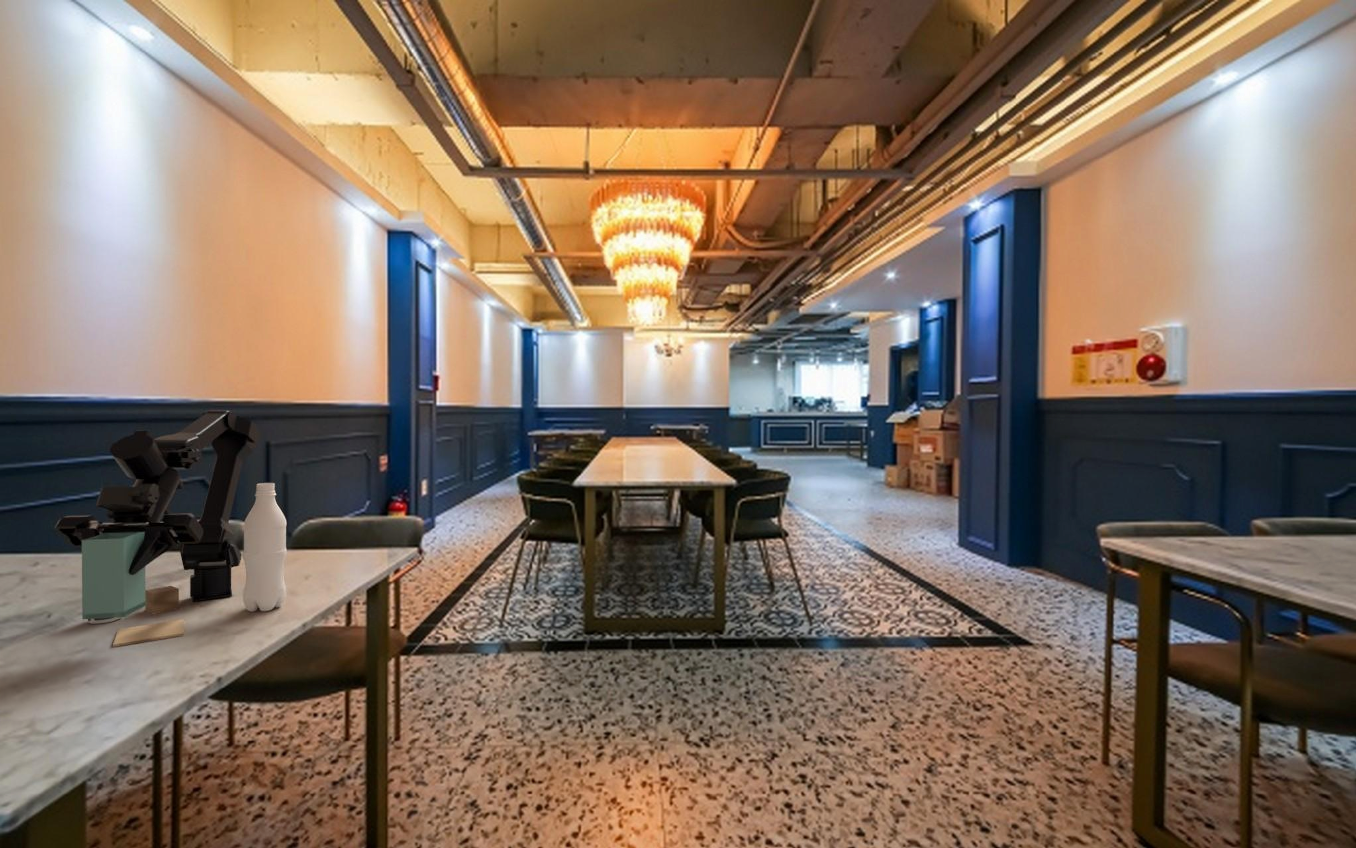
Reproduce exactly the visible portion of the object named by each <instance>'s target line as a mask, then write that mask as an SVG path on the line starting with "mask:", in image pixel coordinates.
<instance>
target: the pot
mask: <svg viewBox="0 0 1356 848" xmlns="http://www.w3.org/2000/svg"><path fill="white" fill-rule="evenodd" d="M144 534H145V532H127V533H104V534H101V535H98V536H94V537H91V538H88V539H85V540H82V547H81V598H82V600H81V601H82V602H81V604H82V605H81V606H82V608H81V609H82V610H81V612H82V614H81V615H82V616H81V617H82V618H81V619H82V620H88V619H99V618H117V617H121V618H125V617H127V616H129V615H131V614H133V613H134V612H136V611H138V610H140V609H143V608H144V607H145V606H146V595H145V590H146V566H145V567H144V568H142V569H141V570H140V571H138V572H137V573H136V574H134V575H131V574H130V573H129V569H130V566H131V563H132V561H133V559H134V558H135V556H136V554H137V552H138V550H139V548H140V546H141V544H142V543H143V540H144Z"/></svg>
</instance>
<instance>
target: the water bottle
mask: <svg viewBox="0 0 1356 848" xmlns="http://www.w3.org/2000/svg"><path fill="white" fill-rule="evenodd" d="M275 487H276V485H275V483H274V482H263V483H262V482H261V483H257V484H256V487H255V488H256V489H255V490H256V491H255V494H254V497H255V502H254V504H253V506H252V508H251V509H250V511H249V512H248V514H247V516H246V518H245V519H244V522H243V527H242V528H243V553H242V559H243V562H244V566H245V575H246V576H245V577H246V578H245V584H244V588H243V592H242V602H243V604H244V608H246V610H247V611H248V612H250V613H251V612H255V611H257V610H258V608H259V610H260V611H261V612H268V611H271V610H274V608H280V607H281V606H283V604H284V602H285V600H286V596H287V586H286V583H285V578H284V567H285V566H284V565H285V561H286V560H285V559H286V557H287V553H288V551H287V544H286V543H287V524H288V523H287V519H286V517H285V514H284V513H283V511H282V510H281V508H280V507H279V505H278V504H277V501H276V496H277V493H276V490H275V489H276V488H275Z"/></svg>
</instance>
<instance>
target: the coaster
mask: <svg viewBox="0 0 1356 848" xmlns="http://www.w3.org/2000/svg"><path fill="white" fill-rule="evenodd" d="M184 627H185V619H184V618H183V619H177V620H170V621H165V622H158V623H152V624H145V625H137V626H131V627H125V628H124V627H123V628H118V630H117V632H116V636H115V638H114V641H113V644H112V648H115V647H121V646H120V645H122V646H129V645H132V644H138V643H139V644H140V643H145V642H152V641H157V640H164V639H169V638H176V637H181V636H182V637H183V636H184V631H185V630H184V629H185V628H184Z"/></svg>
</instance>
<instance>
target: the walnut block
mask: <svg viewBox="0 0 1356 848" xmlns="http://www.w3.org/2000/svg"><path fill="white" fill-rule="evenodd" d="M179 592H180V589H179V588H178V587H175V586H172V585H167V586H162V587H156V588H151V589H145V595H146V606H144V607H145V609H144V610H145V611H146V612H148V613H150V614H152V615H154V614H155V615H156V614H159V613H164V612H169V611H173V610H178V609H180V608H179V605H180V604H179V603H180V600H179V599H180V593H179Z"/></svg>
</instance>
